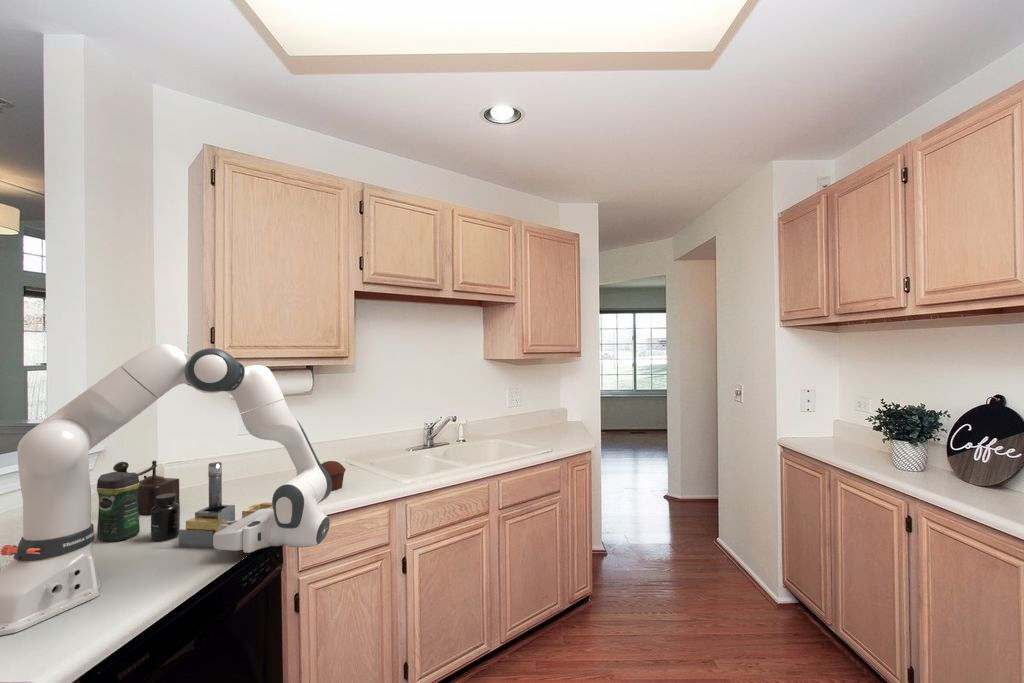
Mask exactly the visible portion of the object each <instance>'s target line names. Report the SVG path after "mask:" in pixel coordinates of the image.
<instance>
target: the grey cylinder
mask: <svg viewBox="0 0 1024 683" xmlns="http://www.w3.org/2000/svg"><path fill="white" fill-rule="evenodd" d="M207 470H208V475H207V476H208V506H209V511H210V512H218V511H220V510H222V505H223V499H222V498H223V490H222V489H223V484H222V483H223V482H222V481H223V479H222V478H223V477H222V476H223V473H222V472H223V464H222V462H221V461H216V462H211V463H208V469H207Z"/></svg>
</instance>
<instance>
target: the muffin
mask: <svg viewBox="0 0 1024 683" xmlns="http://www.w3.org/2000/svg"><path fill="white" fill-rule="evenodd" d="M320 464H321V465H322V466H323V467H324V468H325V470H326V471H327V472H328V473H329V475H330V477H331V480H332V490H331V492H333V491H338V490H341V489H342V488H343V482H344V476H345V475H344V474H345V472H346V471H347V469H346V468H345V466H344V465H343V464H341V463H340V462H339V461H336V460H328V461H324V462H322V463H320Z"/></svg>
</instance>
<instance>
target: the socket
mask: <svg viewBox="0 0 1024 683" xmlns="http://www.w3.org/2000/svg"><path fill="white" fill-rule="evenodd" d="M194 518H204V519H225V522H226V521H235V520H236V505H235V504H222V510H220V511H218V512H210V511H209V505H208V506H207V507H204V508H202V509H199V510H198V511H196V512H194ZM178 547H180V548H182V547H183V548H202V549H213V548H214V546H213V531H206V530H186V529H181V528H180V530H179V535H178ZM214 549H215V548H214Z"/></svg>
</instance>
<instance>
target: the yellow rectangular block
mask: <svg viewBox="0 0 1024 683" xmlns="http://www.w3.org/2000/svg"><path fill="white" fill-rule="evenodd" d="M224 522H225V519H204V518H195V517H191V518H189V519H187V520H186V521H185V530H206V531H213V535H214V533H216V532H218V531H219V530H218V526H219V525H220V524H223V523H224Z"/></svg>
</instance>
